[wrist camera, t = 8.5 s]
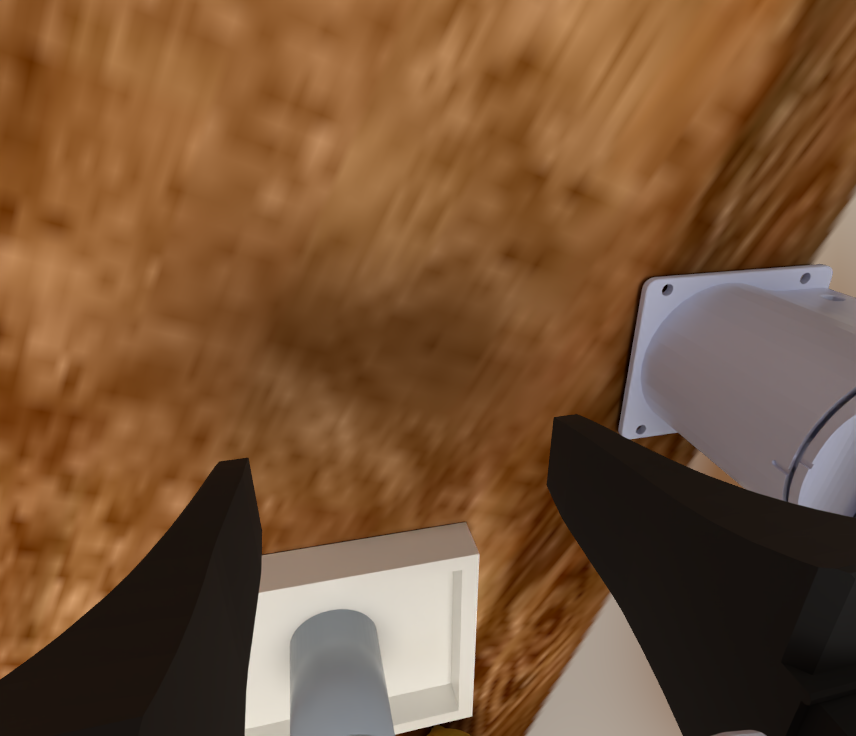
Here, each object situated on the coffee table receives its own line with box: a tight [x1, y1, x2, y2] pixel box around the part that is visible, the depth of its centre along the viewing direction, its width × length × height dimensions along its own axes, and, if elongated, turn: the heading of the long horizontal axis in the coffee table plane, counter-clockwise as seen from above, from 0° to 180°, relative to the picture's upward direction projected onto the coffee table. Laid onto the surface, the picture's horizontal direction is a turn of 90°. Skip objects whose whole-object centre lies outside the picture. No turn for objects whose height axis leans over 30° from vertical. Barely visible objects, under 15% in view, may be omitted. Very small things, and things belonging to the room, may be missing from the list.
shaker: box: [290, 609, 395, 736], centre depth 25 cm, size 4×4×7 cm
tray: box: [245, 522, 479, 736], centre depth 27 cm, size 14×12×2 cm
